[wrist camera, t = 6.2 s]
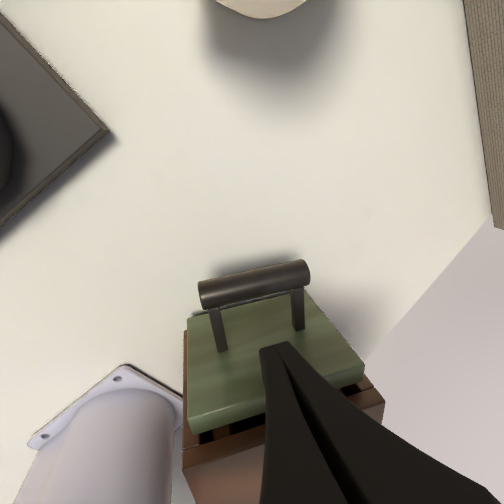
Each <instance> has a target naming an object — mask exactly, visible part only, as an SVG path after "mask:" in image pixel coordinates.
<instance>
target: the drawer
mask: <svg viewBox="0 0 504 504" xmlns="http://www.w3.org/2000/svg"><path fill="white" fill-rule="evenodd" d="M309 284H310V271H309V268H308V266H307V264H306V262H305V261H304V260H302V259H300V260H295V261H291V262H286V263H282V264H277V265H273V266H268V267H263V268H259V269H254V270H250V271H245V272H241V273H236V274H232V275H227V276H222V277H218V278H213V279H209V280H204V281H200V282H198V291H199V297H200V301H201V305H202V308H203V310H207V309H208V314H203V315H199V316H195V317H191V318H188V319H187V419H188V422H189V425H190V427H191V430H192V433H193V435H196V434H200V433H203V432H206V431H209V430H212V429H213V439H214V440H217V439H220V438H223V437H226V436H229V435H232V434H235V433H239V432H242V431H245V430H248V429H251V428H254V427H257V426H260V425H263V424H266V396H265V387H264V383H263V379H262V372H261V365H260V357H259V350H260V349H261V348H263V347H267V346H270V345H274V344H278V343H281V342H285V341H289V342H290V343H291V344H292V345H293V347H294V348H295V349H296V350H297V351H298V352H299V353H300V355H301V356H302V357H303V358H304V359H305V360H306V361H307V362H308V363H309V364H310V365H311V366H312V367H313V368H314V369H315V370H316V371H317V372H318V373H319V374H320V375H321V376H322V377H323V378H324V379H325V380H326V381H328V382H329V383H330V384H331V385H332V386H333V387H334V388H335V389H336V390H338V391H339V392H340V393H341V394H342V395H343V396H345V395H344V393H343V392H342V390H341V389H340V388H342V387H345V386H349V385H352V384H355V383H358V382H361V381H363V377H364V368H365V364H364V363H363V361H362V360H361V359H360V358H359V356H358V355H357V354H356V353H355V352H354V350H353V349H352V348H351V347H350V345H349V344H348V343H347V342H346V340H345V339H344V338H343V337H342V335H341V334H340V333H339V332H338V330H337V329H336V328H335V327H334V326H333V324H332V323H331V322H330V321H329V319H328V318H327V317H326V316H325V314H324V313H323V312H322V311H321V309H320V308H319V307H318V306H317V305H316V303H315V302H314V301H313V300H312V298H311V297H310V296H309V295H308V293H307V292H306V291H305V290H304V287H303V286H307V285H309ZM286 290H290V294H286V295H282V296H278V297H274V298H269V299H265V300H261V301H257V302H253V303H249V304H245V305H241V306H236V307H232V308H228V309H224V310H220V306H224V305H228V304H232V303H236V302H240V301H245V300H249V299H253V298H257V297H261V296H265V295H270V294H274V293H278V292H282V291H286Z"/></svg>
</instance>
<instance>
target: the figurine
mask: <svg viewBox="0 0 504 504" xmlns="http://www.w3.org/2000/svg"><path fill="white" fill-rule="evenodd" d="M216 1H217V2H219V3H221V4H222V5H224V6H226V7H228V8H231V9H233V10H235V11H237V12H238V13H240V14H243V15H245V16H248V17H252V18H258V19H266V18H273V17H277V16H280V15H283V14H286V13H288V12H290V11H292V10H293V9H295V8H297V7H298V6H300V5H301V4H302V3H304V2H305V1H306V0H216Z"/></svg>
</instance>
